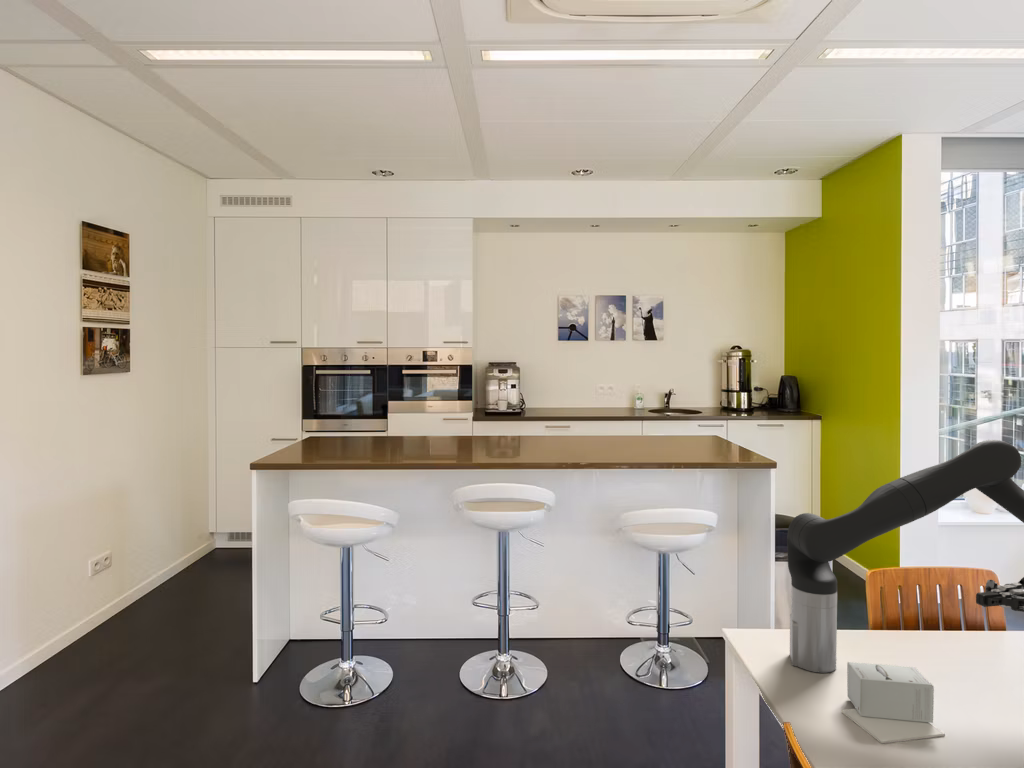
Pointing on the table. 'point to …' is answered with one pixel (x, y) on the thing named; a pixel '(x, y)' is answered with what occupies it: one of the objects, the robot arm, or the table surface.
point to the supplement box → (890, 692)
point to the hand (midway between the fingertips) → (979, 599)
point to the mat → (893, 728)
